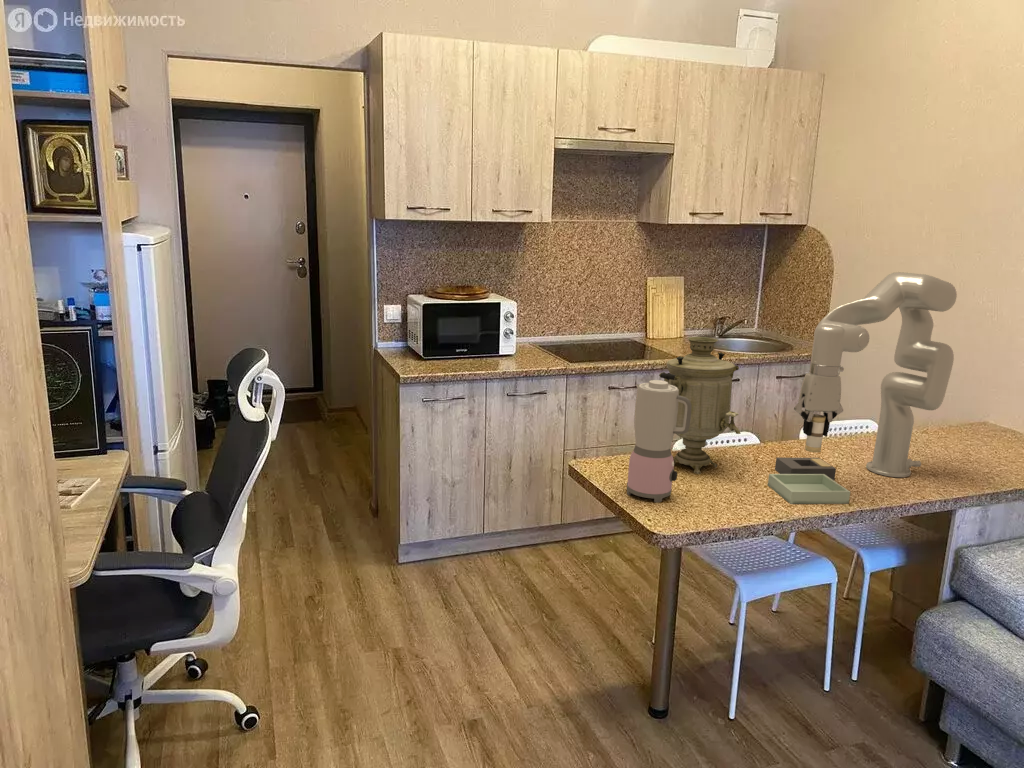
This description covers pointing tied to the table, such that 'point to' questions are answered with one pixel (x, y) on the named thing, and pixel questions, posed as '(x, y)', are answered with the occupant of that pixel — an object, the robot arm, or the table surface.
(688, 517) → the table surface
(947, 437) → the table surface
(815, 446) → the fuse
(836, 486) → the parts tray
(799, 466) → the fuse block
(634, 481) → the blender
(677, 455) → the samovar
